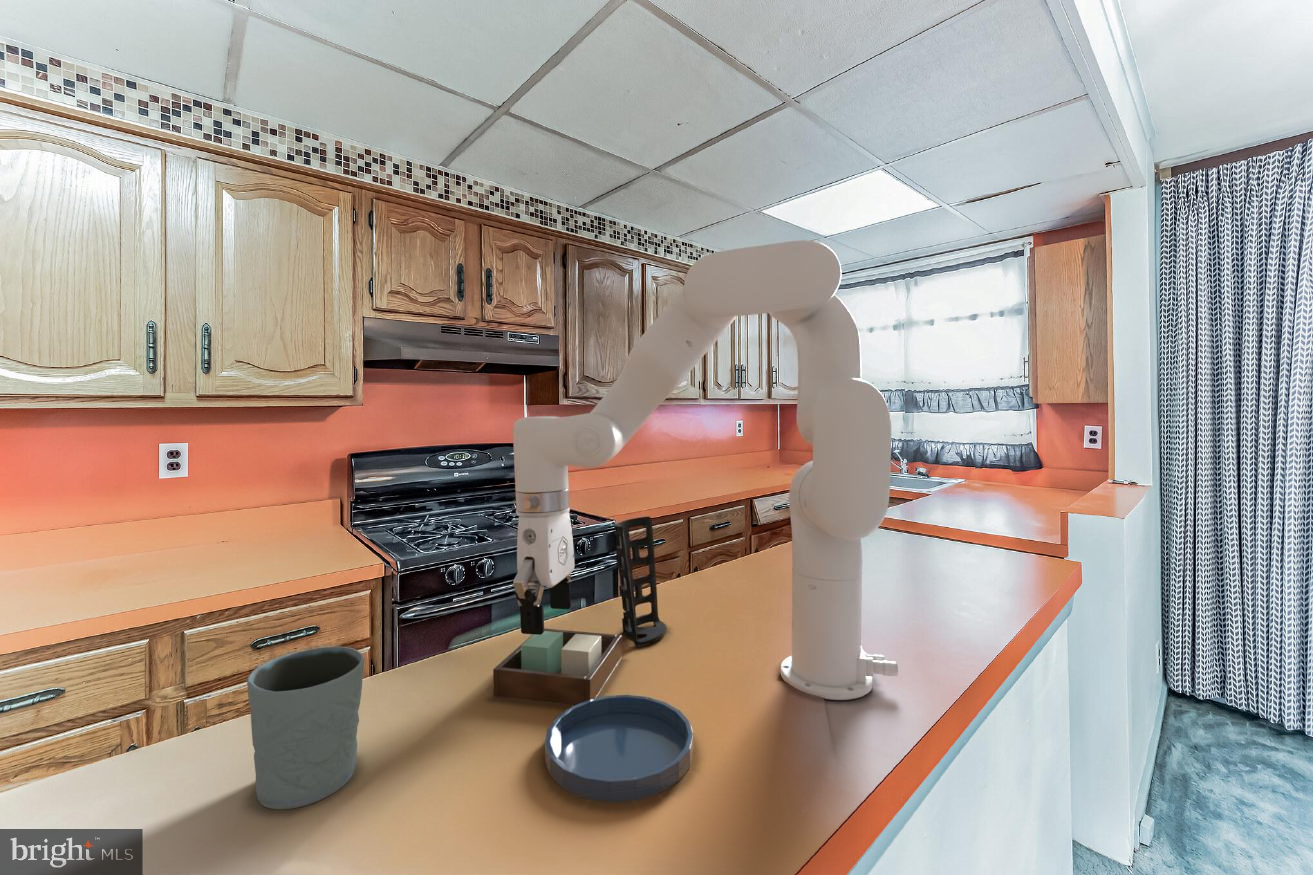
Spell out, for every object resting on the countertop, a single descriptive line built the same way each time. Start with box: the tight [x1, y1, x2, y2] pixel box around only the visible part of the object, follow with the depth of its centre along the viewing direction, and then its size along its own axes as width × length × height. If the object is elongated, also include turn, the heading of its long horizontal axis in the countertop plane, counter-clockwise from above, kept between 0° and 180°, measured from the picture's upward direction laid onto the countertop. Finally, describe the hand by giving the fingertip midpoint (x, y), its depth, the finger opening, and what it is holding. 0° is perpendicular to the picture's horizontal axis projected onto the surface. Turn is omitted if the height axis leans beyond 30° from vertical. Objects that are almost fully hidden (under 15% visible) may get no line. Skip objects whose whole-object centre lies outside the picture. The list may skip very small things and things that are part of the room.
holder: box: [613, 516, 668, 648], centre depth 93 cm, size 11×8×20 cm
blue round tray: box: [544, 694, 695, 803], centre depth 60 cm, size 16×16×2 cm
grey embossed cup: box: [246, 645, 365, 811], centre depth 55 cm, size 10×10×12 cm
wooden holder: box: [492, 628, 623, 707], centre depth 77 cm, size 14×15×4 cm
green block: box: [520, 631, 563, 673], centre depth 78 cm, size 4×6×5 cm
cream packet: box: [561, 634, 601, 676], centre depth 76 cm, size 4×6×5 cm
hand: (547, 620), depth 77 cm, fingers open, 9 cm apart
